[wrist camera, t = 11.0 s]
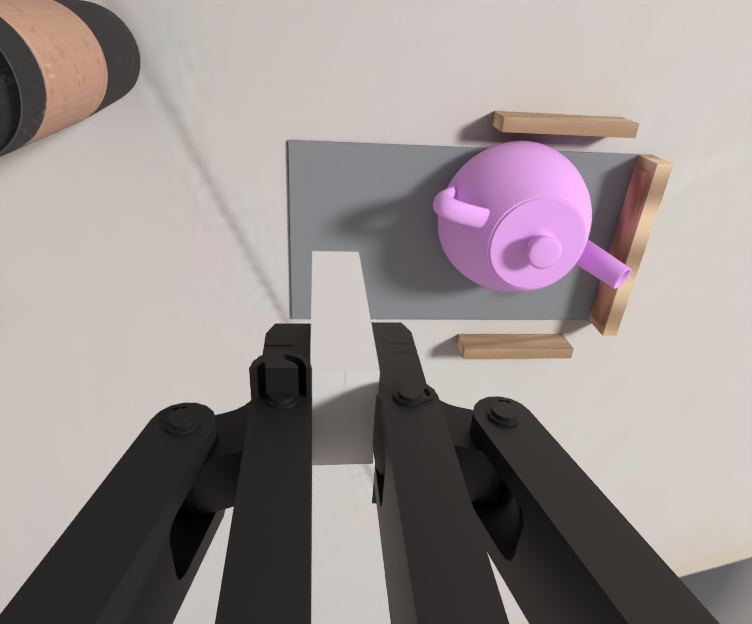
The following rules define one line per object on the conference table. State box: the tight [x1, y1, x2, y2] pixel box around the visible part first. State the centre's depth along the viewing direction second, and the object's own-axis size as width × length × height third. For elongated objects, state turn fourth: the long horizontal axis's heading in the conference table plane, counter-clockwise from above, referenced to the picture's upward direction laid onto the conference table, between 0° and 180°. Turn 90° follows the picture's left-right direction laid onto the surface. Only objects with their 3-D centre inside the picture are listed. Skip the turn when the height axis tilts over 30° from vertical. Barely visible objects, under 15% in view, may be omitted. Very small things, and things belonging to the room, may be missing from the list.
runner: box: [288, 140, 638, 320], centre depth 52 cm, size 18×34×1 cm, turn 87°
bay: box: [457, 111, 673, 359], centre depth 52 cm, size 24×16×4 cm, turn 177°
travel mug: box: [0, 0, 140, 157], centre depth 33 cm, size 8×8×20 cm
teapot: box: [433, 141, 631, 292], centre depth 47 cm, size 14×20×11 cm
